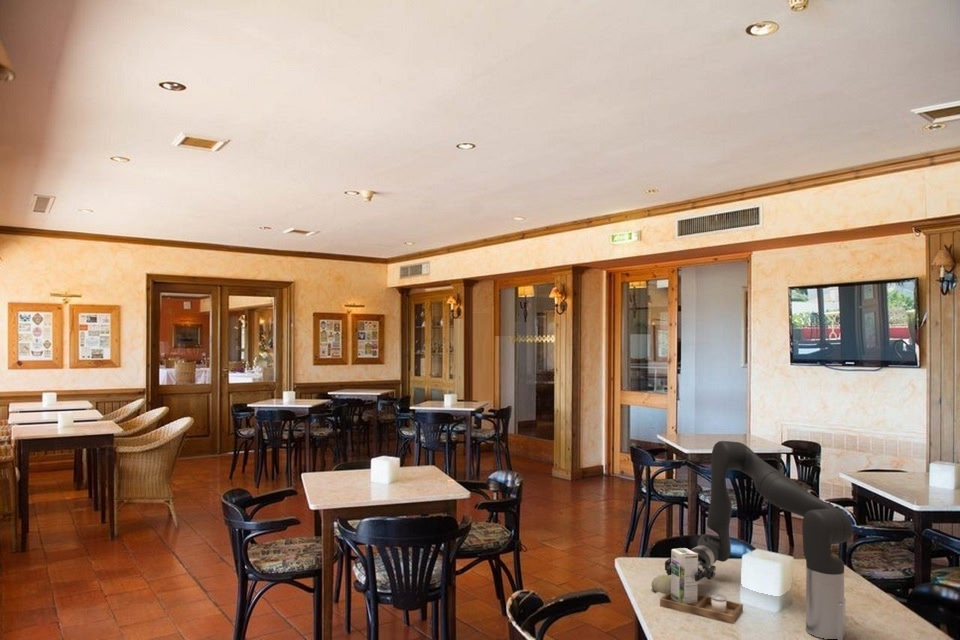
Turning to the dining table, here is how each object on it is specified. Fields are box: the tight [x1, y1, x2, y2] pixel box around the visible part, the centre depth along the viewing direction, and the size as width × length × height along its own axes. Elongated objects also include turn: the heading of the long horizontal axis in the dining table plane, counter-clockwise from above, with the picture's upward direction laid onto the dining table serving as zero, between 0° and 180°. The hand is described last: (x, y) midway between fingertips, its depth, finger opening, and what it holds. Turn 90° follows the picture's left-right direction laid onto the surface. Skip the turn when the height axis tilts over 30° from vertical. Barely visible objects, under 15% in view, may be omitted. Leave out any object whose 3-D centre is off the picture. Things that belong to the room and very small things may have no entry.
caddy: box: [659, 590, 744, 625], centre depth 195 cm, size 21×11×3 cm, turn 55°
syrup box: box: [670, 547, 699, 604], centre depth 198 cm, size 6×6×14 cm
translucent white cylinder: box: [710, 593, 728, 614], centre depth 192 cm, size 4×4×4 cm
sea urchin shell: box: [651, 574, 671, 594], centre depth 211 cm, size 9×8×8 cm
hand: (682, 574), depth 197 cm, fingers closed on syrup box, 7 cm apart
